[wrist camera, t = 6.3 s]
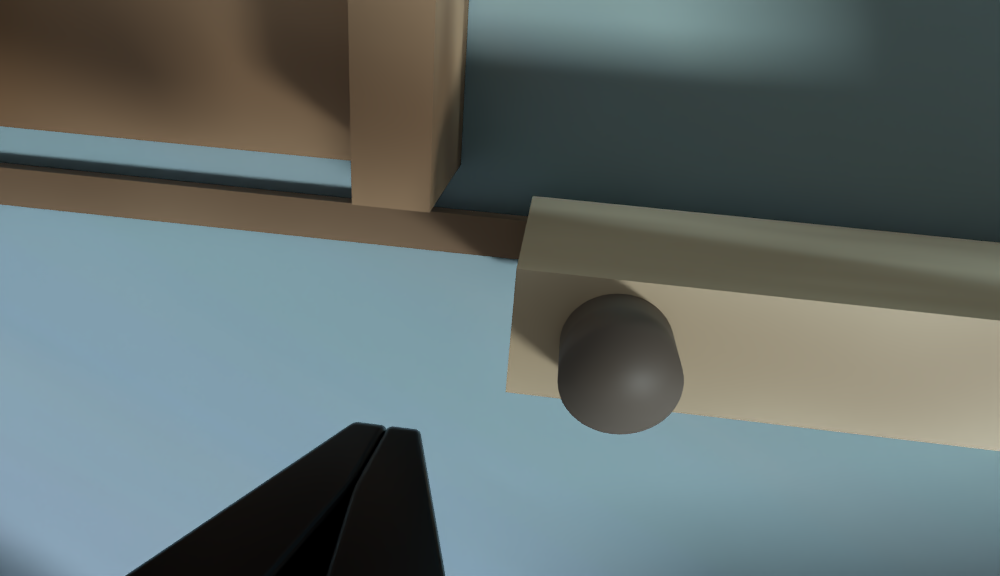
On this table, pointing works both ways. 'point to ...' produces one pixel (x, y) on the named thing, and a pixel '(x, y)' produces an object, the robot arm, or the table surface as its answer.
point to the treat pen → (254, 110)
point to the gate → (756, 323)
